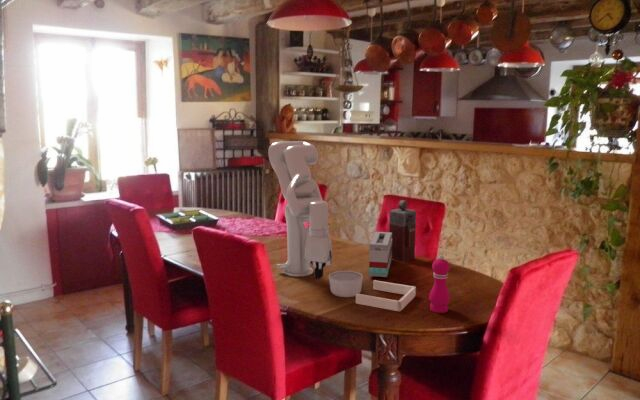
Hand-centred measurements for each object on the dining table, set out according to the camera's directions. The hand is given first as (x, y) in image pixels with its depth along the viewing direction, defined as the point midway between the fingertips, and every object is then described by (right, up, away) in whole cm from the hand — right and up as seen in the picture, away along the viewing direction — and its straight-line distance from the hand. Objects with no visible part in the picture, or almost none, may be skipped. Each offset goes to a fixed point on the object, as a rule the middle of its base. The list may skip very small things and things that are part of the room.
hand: (318, 277), depth 207 cm
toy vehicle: (+28, 0, +26) cm, 38 cm away
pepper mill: (+43, -8, -22) cm, 49 cm away
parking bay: (+25, -6, -12) cm, 28 cm away
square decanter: (+40, +3, +41) cm, 57 cm away
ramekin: (+10, -5, -4) cm, 12 cm away
